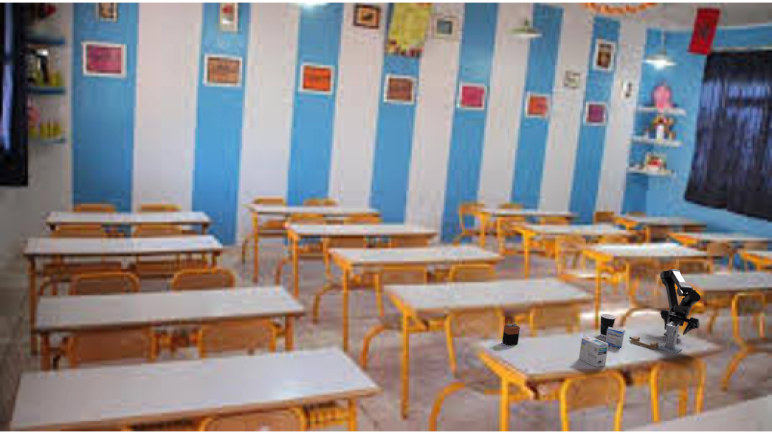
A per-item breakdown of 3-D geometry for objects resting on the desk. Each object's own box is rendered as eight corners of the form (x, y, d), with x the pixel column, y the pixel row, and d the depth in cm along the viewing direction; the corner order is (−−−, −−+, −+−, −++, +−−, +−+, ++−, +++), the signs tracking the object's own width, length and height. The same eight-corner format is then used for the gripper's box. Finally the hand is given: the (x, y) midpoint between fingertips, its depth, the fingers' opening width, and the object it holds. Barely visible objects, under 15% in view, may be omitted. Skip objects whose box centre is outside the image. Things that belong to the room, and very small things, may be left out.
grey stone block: (667, 345, 337) (671, 321, 335) (675, 348, 335) (679, 323, 333) (662, 349, 331) (666, 324, 329) (670, 351, 329) (674, 327, 327)
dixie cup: (595, 335, 346) (598, 315, 344) (599, 332, 353) (602, 312, 351) (611, 339, 342) (614, 319, 340) (614, 335, 349) (617, 316, 347)
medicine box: (604, 344, 333) (607, 328, 332) (606, 342, 337) (608, 326, 336) (620, 348, 330) (623, 332, 328) (622, 346, 334) (624, 329, 332)
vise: (631, 338, 346) (631, 334, 346) (657, 346, 337) (658, 342, 337) (626, 341, 342) (627, 336, 341) (653, 349, 333) (654, 344, 332)
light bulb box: (605, 365, 304) (609, 343, 302) (596, 367, 301) (599, 345, 299) (587, 357, 313) (590, 335, 311) (578, 359, 309) (581, 337, 308)
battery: (501, 342, 323) (504, 323, 321) (512, 341, 326) (515, 322, 324) (506, 345, 319) (509, 326, 317) (518, 344, 322) (520, 325, 320)
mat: (663, 345, 341) (664, 343, 341) (681, 350, 335) (682, 348, 335) (657, 348, 334) (658, 347, 334) (676, 354, 328) (676, 352, 328)
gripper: (664, 294, 343) (653, 318, 337) (701, 303, 331) (691, 329, 325) (667, 306, 350) (656, 329, 344) (704, 315, 338) (693, 340, 332)
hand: (673, 332), depth 336 cm, fingers open, 9 cm apart
